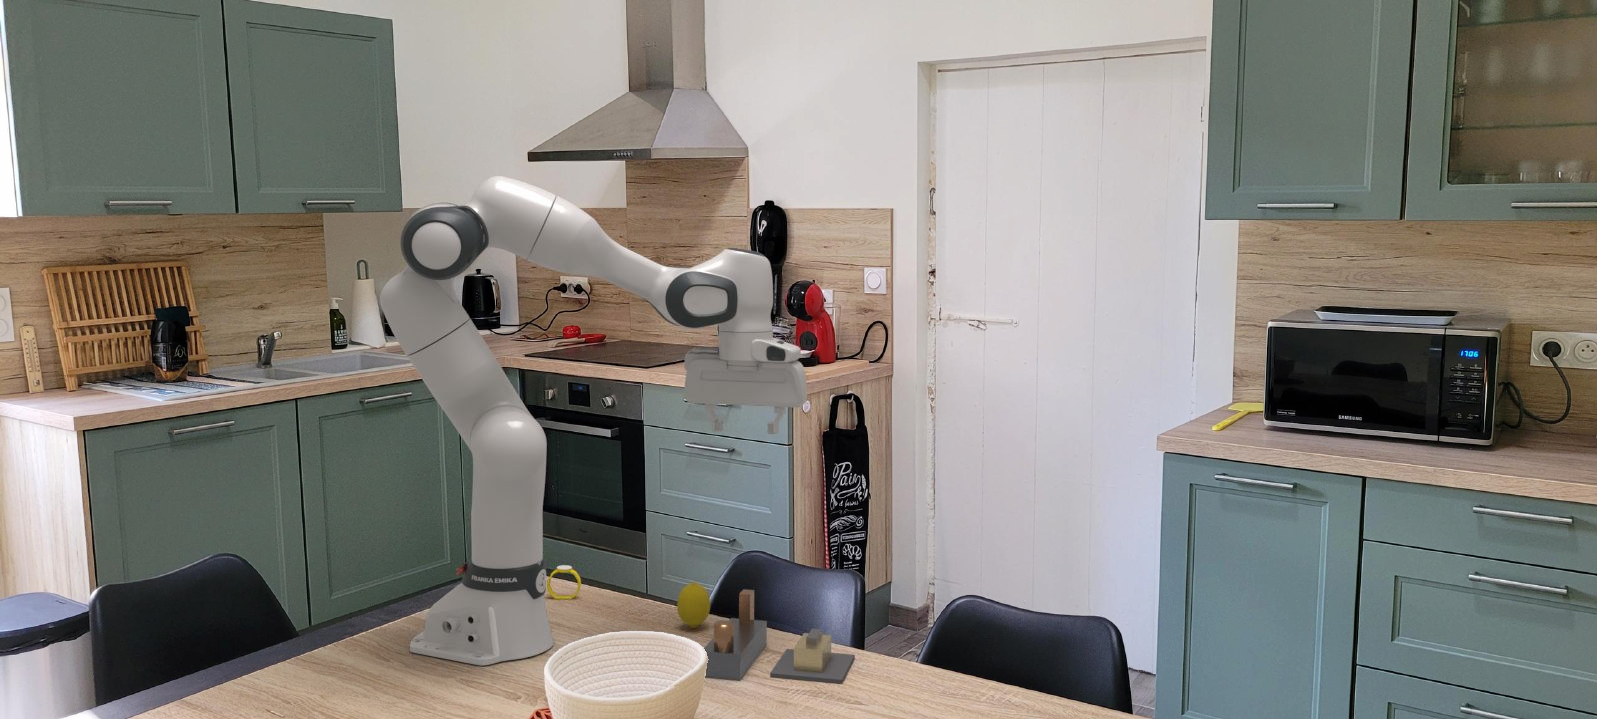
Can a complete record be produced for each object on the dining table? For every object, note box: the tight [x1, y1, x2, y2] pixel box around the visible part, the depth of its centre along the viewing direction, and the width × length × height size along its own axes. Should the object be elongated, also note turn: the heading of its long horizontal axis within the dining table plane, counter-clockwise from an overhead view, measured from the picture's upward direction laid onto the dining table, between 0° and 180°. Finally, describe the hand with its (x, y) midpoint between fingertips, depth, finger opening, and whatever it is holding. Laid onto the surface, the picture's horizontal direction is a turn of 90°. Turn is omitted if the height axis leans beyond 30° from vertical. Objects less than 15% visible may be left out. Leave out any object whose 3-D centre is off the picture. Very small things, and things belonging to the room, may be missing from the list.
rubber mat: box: [769, 648, 856, 685], centre depth 179 cm, size 11×11×1 cm
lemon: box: [676, 581, 711, 629], centre depth 196 cm, size 6×6×8 cm
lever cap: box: [793, 628, 832, 673], centre depth 179 cm, size 4×7×4 cm, turn 167°
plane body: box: [703, 588, 768, 681], centre depth 181 cm, size 6×16×9 cm, turn 167°
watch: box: [546, 564, 582, 600], centre depth 212 cm, size 6×3×6 cm, turn 92°
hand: (745, 432), depth 190 cm, fingers open, 8 cm apart
